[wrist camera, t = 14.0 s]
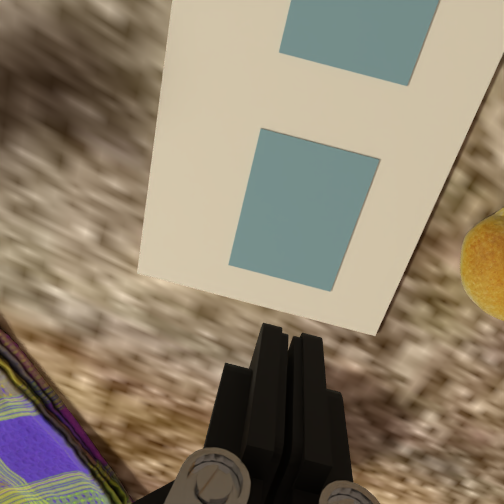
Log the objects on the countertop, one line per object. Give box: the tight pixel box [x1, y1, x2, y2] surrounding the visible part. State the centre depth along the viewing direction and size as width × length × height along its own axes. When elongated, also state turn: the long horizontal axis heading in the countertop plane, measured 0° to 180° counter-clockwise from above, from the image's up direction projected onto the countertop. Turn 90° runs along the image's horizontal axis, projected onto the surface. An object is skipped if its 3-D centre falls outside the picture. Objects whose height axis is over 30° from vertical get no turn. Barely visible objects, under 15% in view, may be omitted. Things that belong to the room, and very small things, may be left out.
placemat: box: [137, 0, 504, 336], centre depth 23 cm, size 27×17×1 cm, turn 167°
